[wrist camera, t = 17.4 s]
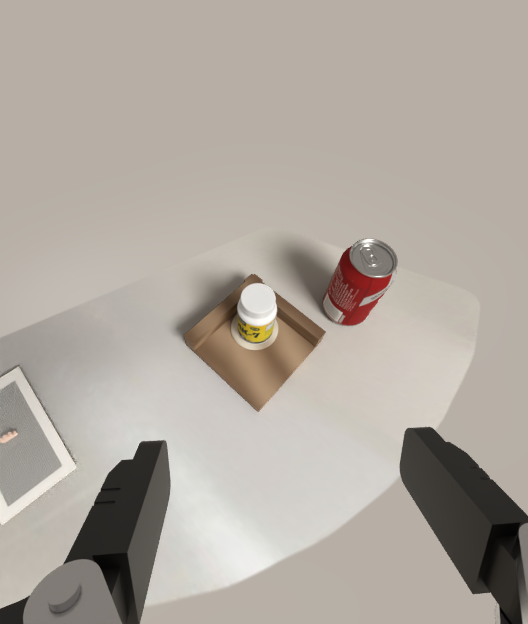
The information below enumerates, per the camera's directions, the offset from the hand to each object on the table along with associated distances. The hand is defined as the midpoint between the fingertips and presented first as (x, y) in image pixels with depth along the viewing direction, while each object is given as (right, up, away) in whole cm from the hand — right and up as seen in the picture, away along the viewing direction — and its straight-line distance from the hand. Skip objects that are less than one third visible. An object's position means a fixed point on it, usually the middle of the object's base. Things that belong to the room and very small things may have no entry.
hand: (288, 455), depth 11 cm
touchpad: (-29, -10, +26) cm, 40 cm away
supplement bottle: (-2, +2, +32) cm, 33 cm away
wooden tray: (-2, +1, +33) cm, 33 cm away
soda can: (+11, +5, +37) cm, 39 cm away
